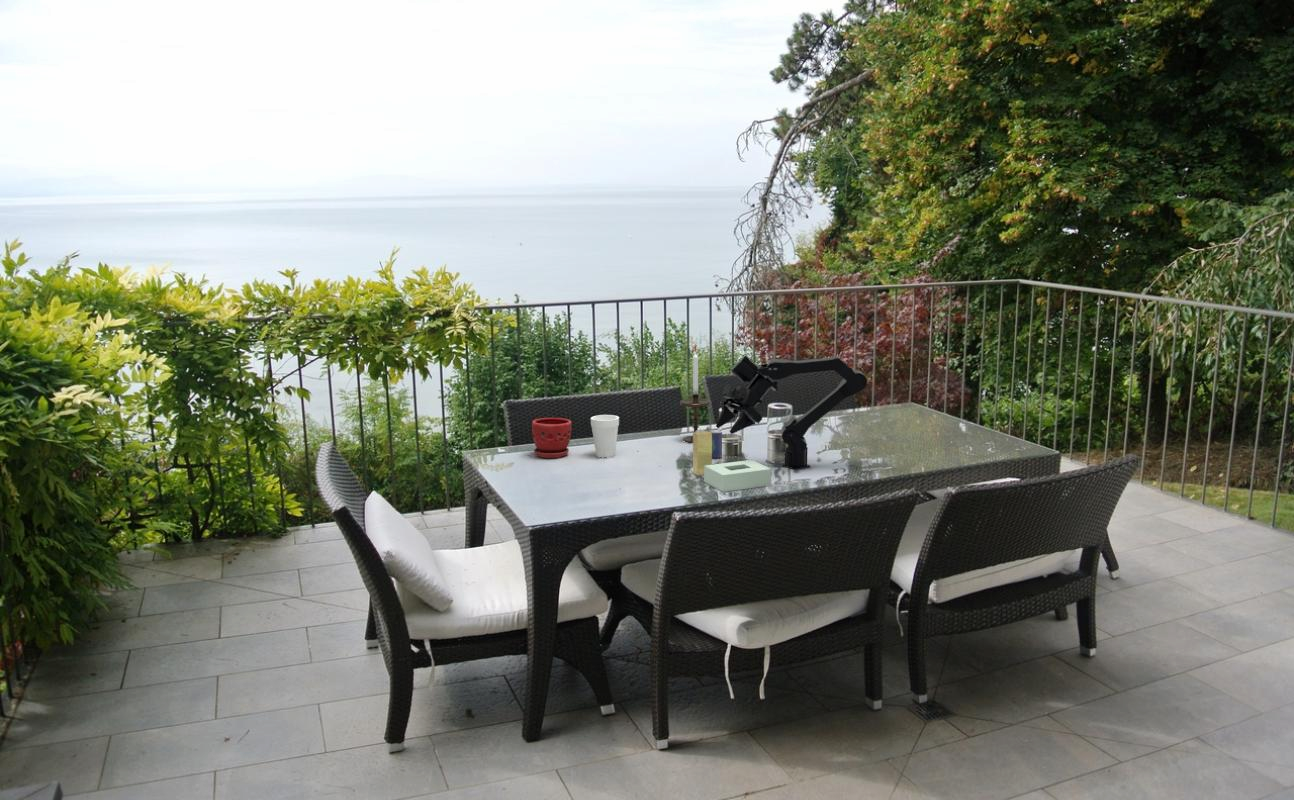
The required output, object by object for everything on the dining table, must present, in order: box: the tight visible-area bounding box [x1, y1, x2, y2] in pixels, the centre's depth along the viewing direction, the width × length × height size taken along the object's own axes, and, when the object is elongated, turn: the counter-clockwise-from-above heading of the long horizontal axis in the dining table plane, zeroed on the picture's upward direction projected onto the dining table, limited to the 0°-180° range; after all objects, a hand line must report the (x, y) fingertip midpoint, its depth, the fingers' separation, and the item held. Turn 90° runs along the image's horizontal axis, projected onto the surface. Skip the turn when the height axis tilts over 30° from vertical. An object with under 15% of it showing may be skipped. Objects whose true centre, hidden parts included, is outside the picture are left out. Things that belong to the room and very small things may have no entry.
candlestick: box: [679, 343, 712, 444], centre depth 335 cm, size 11×11×35 cm
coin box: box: [703, 459, 772, 493], centre depth 283 cm, size 16×12×5 cm
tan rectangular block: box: [692, 430, 713, 476], centre depth 294 cm, size 5×3×13 cm, turn 113°
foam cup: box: [590, 414, 620, 458], centre depth 318 cm, size 10×9×13 cm
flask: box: [695, 425, 723, 460], centre depth 313 cm, size 9×3×11 cm, turn 78°
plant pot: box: [531, 417, 572, 459], centre depth 319 cm, size 13×13×12 cm
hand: (723, 430), depth 295 cm, fingers open, 9 cm apart
